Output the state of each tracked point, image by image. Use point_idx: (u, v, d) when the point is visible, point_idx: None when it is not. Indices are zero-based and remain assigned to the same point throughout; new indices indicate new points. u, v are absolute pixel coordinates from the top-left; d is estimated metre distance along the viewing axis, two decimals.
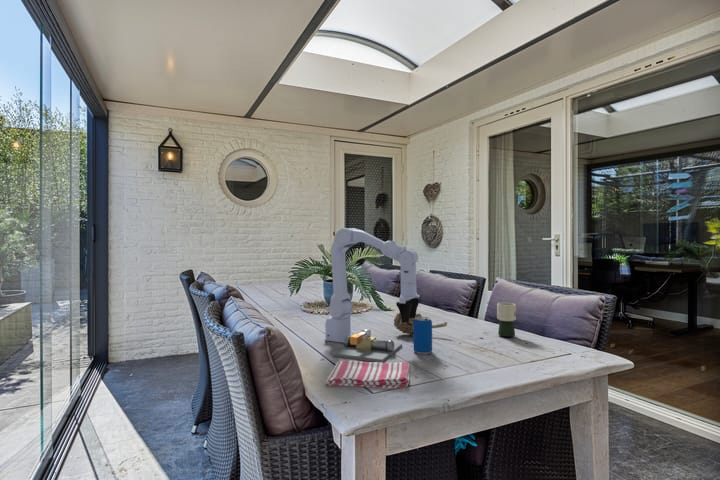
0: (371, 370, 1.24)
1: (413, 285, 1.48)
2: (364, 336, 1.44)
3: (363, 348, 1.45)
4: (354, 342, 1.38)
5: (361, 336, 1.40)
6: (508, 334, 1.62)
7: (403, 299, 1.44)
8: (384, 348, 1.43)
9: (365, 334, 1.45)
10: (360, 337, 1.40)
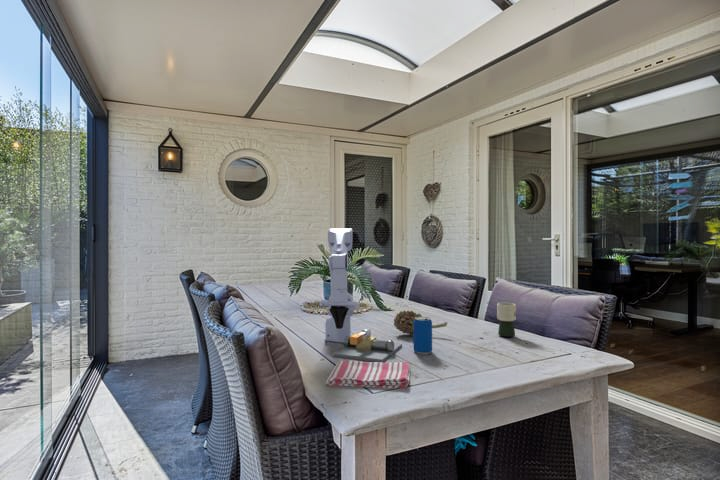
0: (371, 370, 1.24)
1: (331, 291, 1.41)
2: (364, 336, 1.44)
3: (363, 348, 1.45)
4: (354, 342, 1.38)
5: (361, 336, 1.40)
6: (508, 334, 1.62)
7: None
8: (384, 348, 1.43)
9: (365, 334, 1.45)
10: (360, 337, 1.40)
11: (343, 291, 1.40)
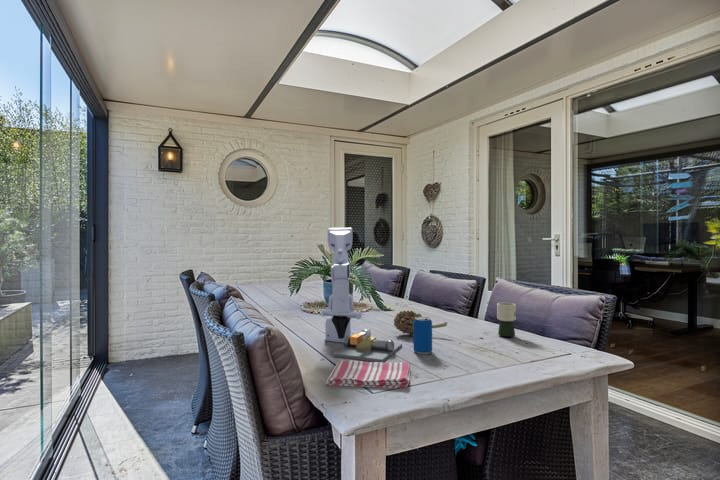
0: (371, 370, 1.24)
1: (333, 301, 1.41)
2: (364, 336, 1.44)
3: (363, 348, 1.45)
4: (354, 342, 1.38)
5: (361, 336, 1.40)
6: (508, 334, 1.62)
7: None
8: (384, 348, 1.43)
9: (365, 334, 1.45)
10: (360, 337, 1.40)
11: (345, 301, 1.40)
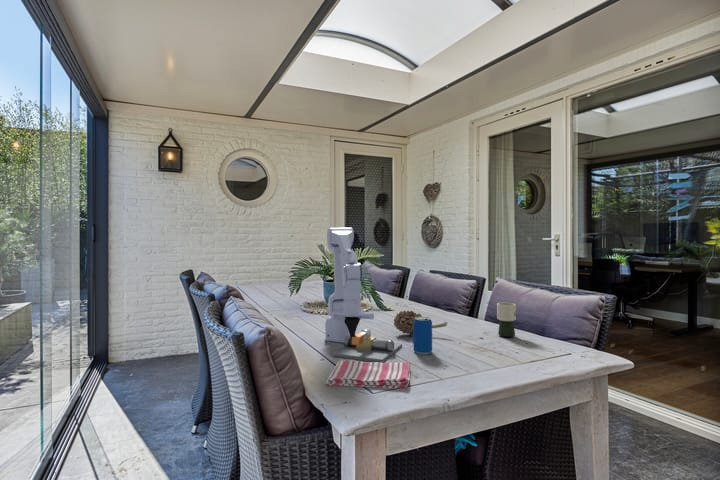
0: (372, 371, 1.24)
1: (345, 302, 1.38)
2: (365, 336, 1.44)
3: (363, 348, 1.45)
4: (356, 342, 1.37)
5: (362, 336, 1.40)
6: (508, 334, 1.62)
7: None
8: (384, 348, 1.43)
9: (366, 334, 1.45)
10: (362, 337, 1.40)
11: (357, 302, 1.38)
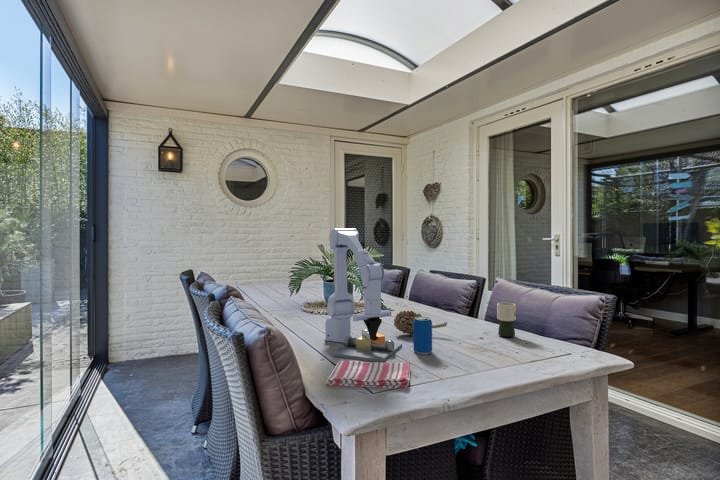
0: (372, 371, 1.24)
1: (372, 303, 1.36)
2: None
3: (363, 348, 1.45)
4: (382, 341, 1.38)
5: None
6: (508, 334, 1.62)
7: (355, 317, 1.35)
8: (384, 348, 1.43)
9: None
10: None
11: (380, 301, 1.39)
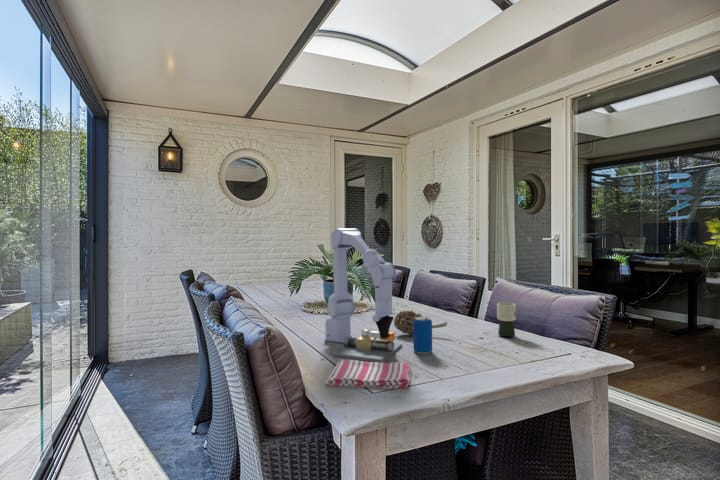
0: (372, 371, 1.24)
1: (388, 301, 1.39)
2: None
3: (363, 348, 1.45)
4: (393, 338, 1.43)
5: None
6: (508, 334, 1.62)
7: (376, 317, 1.35)
8: (384, 348, 1.43)
9: None
10: None
11: None
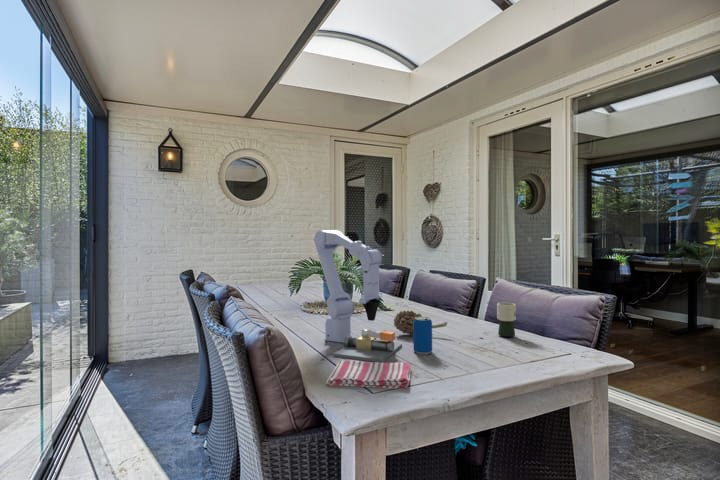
0: (372, 371, 1.24)
1: (375, 285, 1.48)
2: None
3: (363, 348, 1.45)
4: (393, 338, 1.43)
5: None
6: (508, 334, 1.62)
7: (363, 299, 1.44)
8: (384, 348, 1.43)
9: None
10: None
11: None
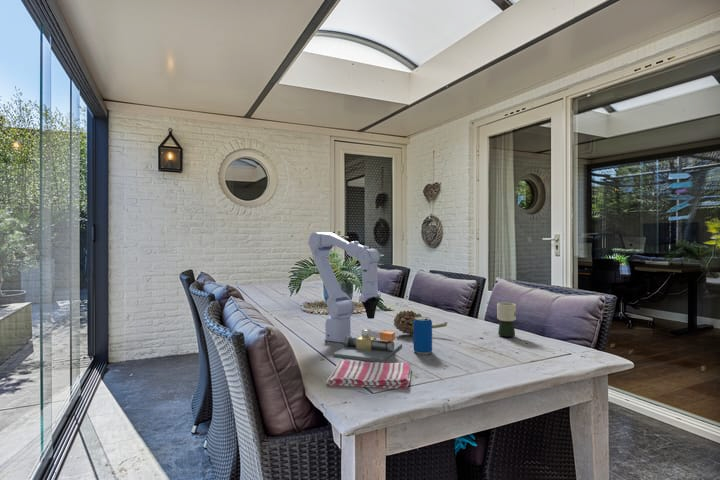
0: (372, 371, 1.24)
1: (374, 284, 1.50)
2: None
3: (363, 348, 1.45)
4: (393, 338, 1.43)
5: None
6: (508, 334, 1.62)
7: (362, 297, 1.46)
8: (384, 348, 1.43)
9: None
10: None
11: None
